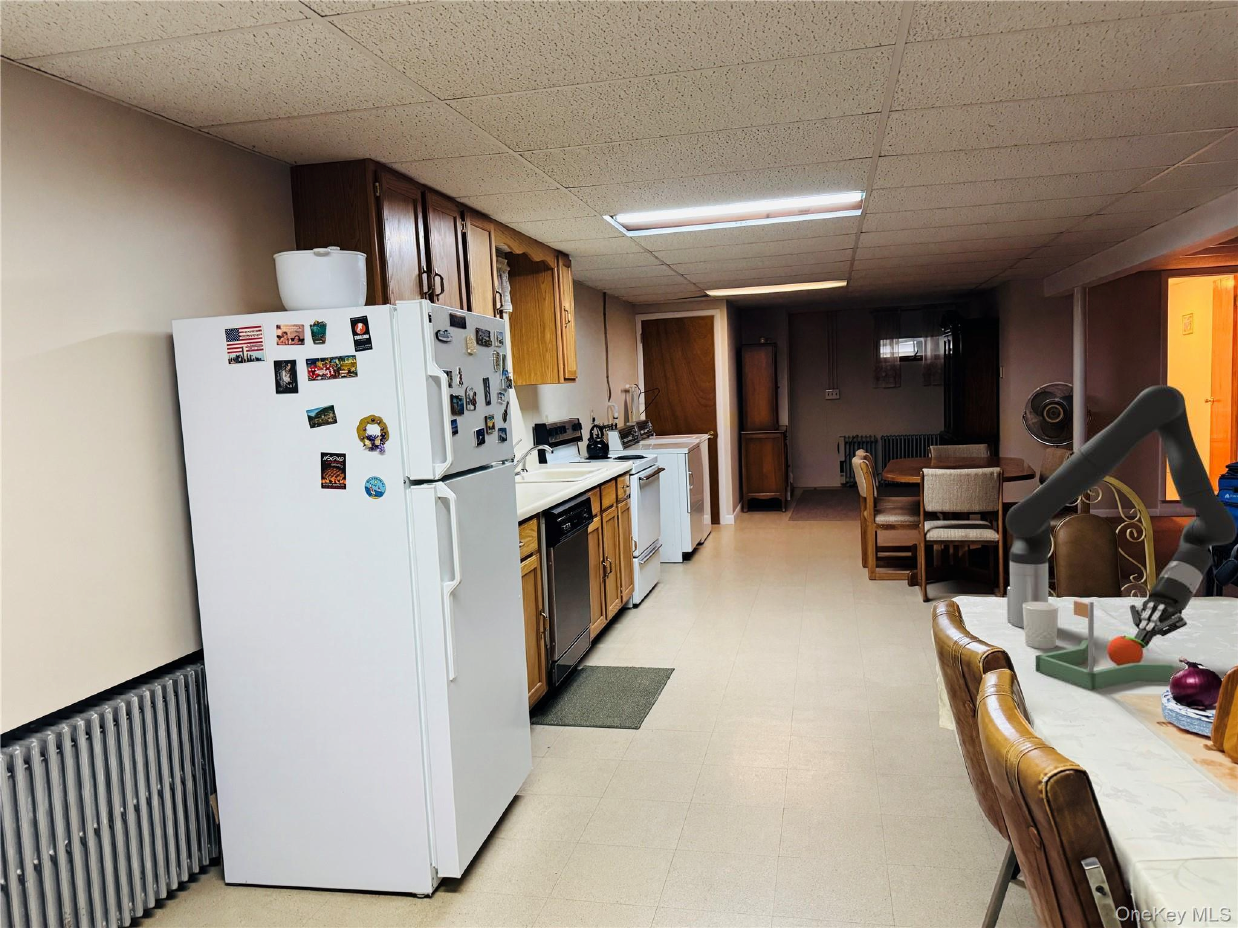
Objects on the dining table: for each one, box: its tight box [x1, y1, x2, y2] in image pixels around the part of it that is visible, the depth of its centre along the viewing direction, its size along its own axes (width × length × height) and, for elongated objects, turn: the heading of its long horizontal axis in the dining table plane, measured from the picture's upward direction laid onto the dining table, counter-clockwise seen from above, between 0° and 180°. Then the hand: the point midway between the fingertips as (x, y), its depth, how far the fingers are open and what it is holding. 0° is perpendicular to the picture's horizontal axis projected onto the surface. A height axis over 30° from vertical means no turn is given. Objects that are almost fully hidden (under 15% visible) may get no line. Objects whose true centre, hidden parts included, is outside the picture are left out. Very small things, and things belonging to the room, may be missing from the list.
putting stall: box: [1035, 600, 1174, 691], centre depth 185 cm, size 22×20×18 cm
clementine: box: [1106, 635, 1149, 666], centre depth 188 cm, size 8×7×7 cm
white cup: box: [1023, 602, 1059, 650], centre depth 207 cm, size 8×8×10 cm
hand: (1138, 645), depth 189 cm, fingers closed
